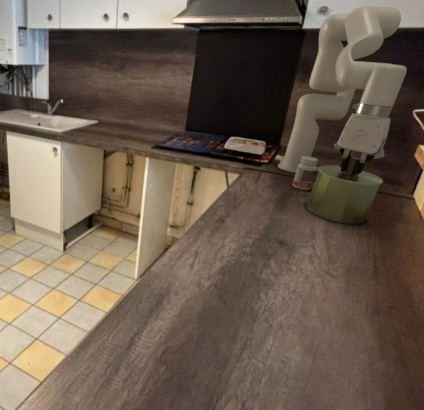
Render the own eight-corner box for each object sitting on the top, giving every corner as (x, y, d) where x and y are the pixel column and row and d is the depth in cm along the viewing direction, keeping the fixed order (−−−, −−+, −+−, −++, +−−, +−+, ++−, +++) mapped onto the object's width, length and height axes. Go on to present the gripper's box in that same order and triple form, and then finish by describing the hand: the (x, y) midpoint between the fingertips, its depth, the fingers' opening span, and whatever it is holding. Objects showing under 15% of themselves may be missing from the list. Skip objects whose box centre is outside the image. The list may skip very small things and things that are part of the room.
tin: (297, 207, 116) (309, 171, 111) (321, 199, 124) (333, 165, 119) (349, 228, 104) (366, 188, 99) (372, 217, 112) (389, 180, 107)
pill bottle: (313, 188, 134) (323, 159, 129) (305, 191, 130) (314, 161, 126) (296, 183, 138) (306, 155, 134) (288, 185, 135) (297, 157, 130)
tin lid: (306, 172, 111) (312, 153, 108) (332, 166, 119) (338, 148, 117) (366, 191, 98) (375, 169, 96) (391, 182, 107) (399, 162, 104)
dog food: (262, 160, 166) (265, 150, 164) (221, 153, 173) (223, 143, 171) (265, 146, 191) (267, 137, 189) (229, 141, 198) (231, 132, 196)
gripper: (336, 106, 105) (315, 166, 113) (402, 117, 93) (375, 183, 100) (348, 106, 109) (327, 163, 116) (413, 115, 97) (386, 179, 104)
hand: (349, 172), depth 108 cm, fingers closed on tin lid, 2 cm apart
